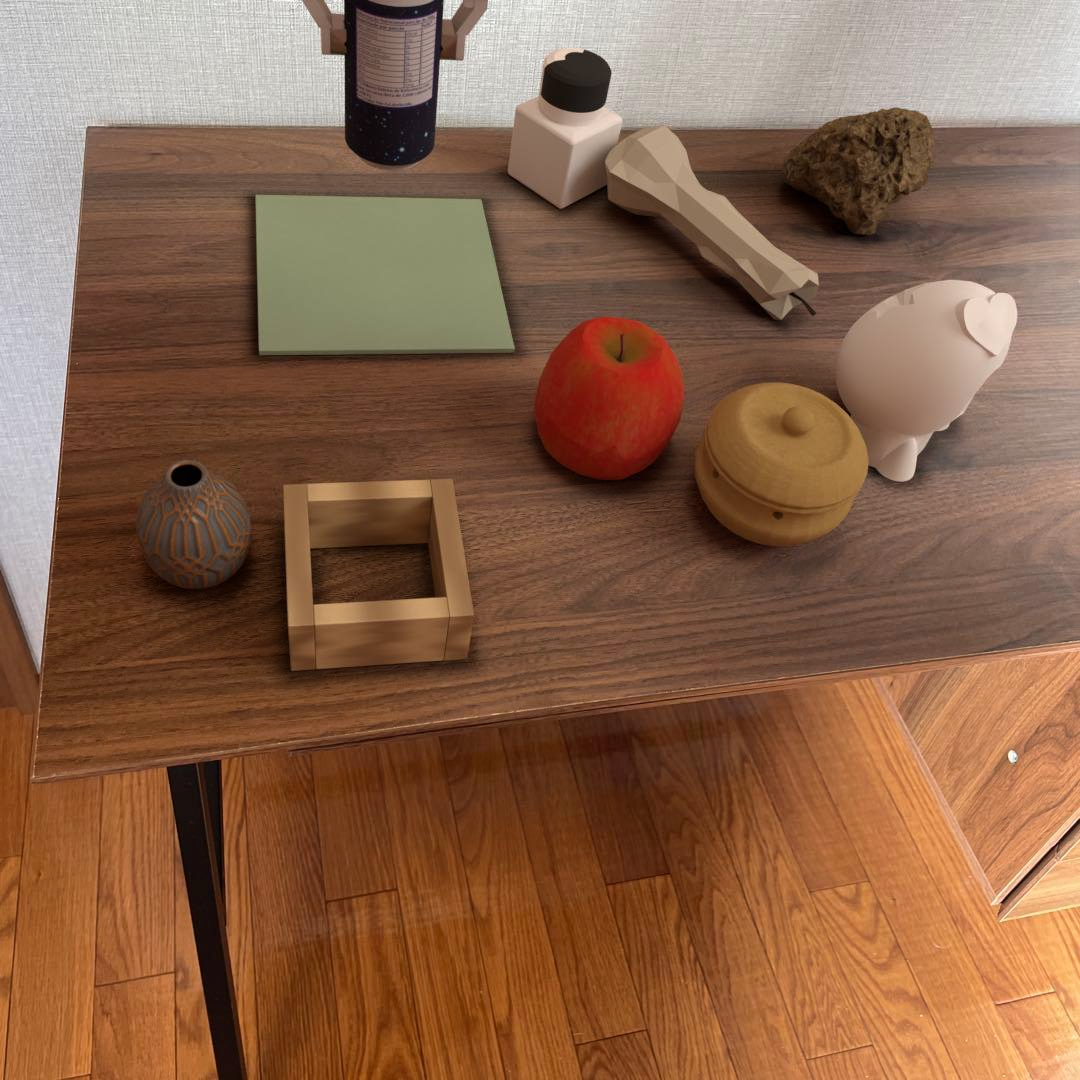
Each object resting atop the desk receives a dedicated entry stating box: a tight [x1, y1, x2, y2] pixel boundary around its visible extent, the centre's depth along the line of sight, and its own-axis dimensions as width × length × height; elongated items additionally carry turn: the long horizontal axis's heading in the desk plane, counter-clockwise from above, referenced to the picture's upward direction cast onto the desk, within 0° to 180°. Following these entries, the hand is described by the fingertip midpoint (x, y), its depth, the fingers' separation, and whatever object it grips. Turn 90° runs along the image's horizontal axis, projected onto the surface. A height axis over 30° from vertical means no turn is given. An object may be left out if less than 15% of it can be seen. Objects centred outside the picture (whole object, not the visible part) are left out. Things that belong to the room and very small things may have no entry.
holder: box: [282, 478, 475, 672], centre depth 71 cm, size 11×11×5 cm
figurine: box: [835, 279, 1018, 483], centre depth 84 cm, size 11×11×15 cm
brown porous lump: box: [781, 107, 935, 236], centre depth 104 cm, size 11×13×15 cm
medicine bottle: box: [507, 47, 623, 210], centre depth 101 cm, size 7×7×12 cm
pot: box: [693, 381, 869, 547], centre depth 79 cm, size 12×12×10 cm
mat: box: [254, 194, 516, 356], centre depth 93 cm, size 20×20×1 cm
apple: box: [533, 316, 686, 481], centre depth 80 cm, size 11×11×11 cm
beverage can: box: [343, 0, 445, 172], centre depth 67 cm, size 6×6×12 cm
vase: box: [135, 459, 253, 590], centre depth 69 cm, size 7×7×9 cm
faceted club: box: [605, 124, 820, 321], centre depth 98 cm, size 9×8×25 cm
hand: (393, 53), depth 66 cm, fingers closed on beverage can, 5 cm apart
